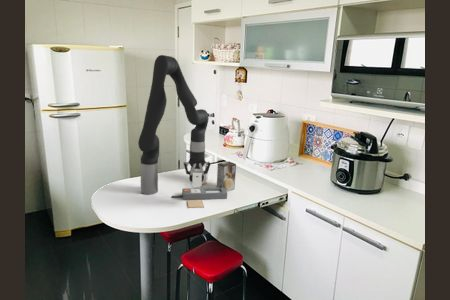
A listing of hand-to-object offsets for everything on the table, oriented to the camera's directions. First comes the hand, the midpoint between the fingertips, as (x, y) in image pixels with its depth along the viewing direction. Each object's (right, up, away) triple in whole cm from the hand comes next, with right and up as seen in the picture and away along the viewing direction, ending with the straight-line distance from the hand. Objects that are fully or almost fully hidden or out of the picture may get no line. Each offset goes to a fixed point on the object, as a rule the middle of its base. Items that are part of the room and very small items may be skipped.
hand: (196, 181), depth 166 cm
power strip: (0, -10, +13) cm, 16 cm away
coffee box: (+15, -8, +25) cm, 31 cm away
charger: (0, -2, 0) cm, 2 cm away
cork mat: (-1, -13, +3) cm, 13 cm away
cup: (-1, -4, +34) cm, 34 cm away
